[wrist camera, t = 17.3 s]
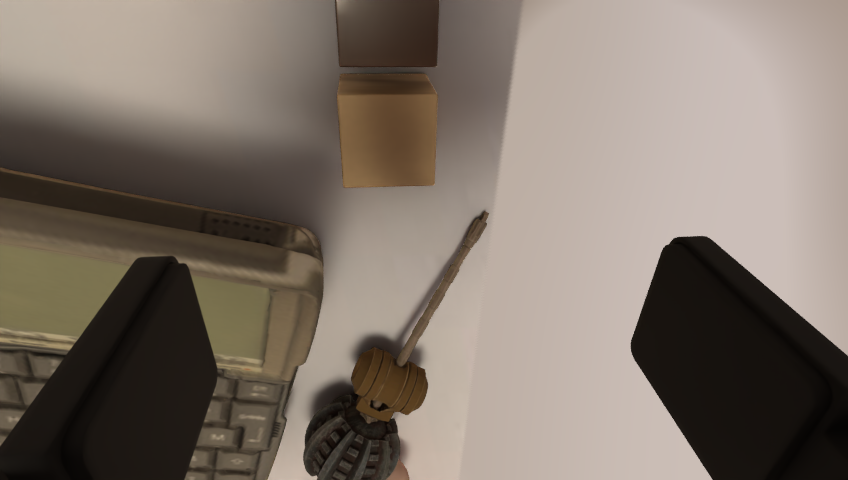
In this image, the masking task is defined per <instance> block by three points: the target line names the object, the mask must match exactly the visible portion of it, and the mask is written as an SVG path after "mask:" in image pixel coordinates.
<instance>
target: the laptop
mask: <svg viewBox="0 0 848 480" xmlns="http://www.w3.org/2000/svg"><path fill="white" fill-rule="evenodd" d="M152 256H174V257H175V258H176V259H177V260H178V263H185V264H187V266H188V268H189V270H190V274H191V277H192V281H193V284H194V288H195V291H196V295H197V298H198V302H199V305H200V309H201V312H202V315H203V319H204V322H205V326H206V329H207V333H208V336H209V340H210V343H211V347H212V350H213V354H214V357H215V361H216V364H217V371H218V377H217V384H216V387H215V390H214V393H213V396H212V399H211V402H210V405H209V408H208V411H207V414H206V417H205V420H204V423H203V426H202V429H201V432H200V435H199V438H198V441H197V444H196V447H195V450H194V453H193V456H192V459H191V462H190V465H189V468H188V471H187V474H186V477H185V480H267V479H268V476H269V474H270V471H271V468H272V465H273V463H274V460H275V457H276V454H277V451H278V448H279V445H280V442H281V438H282V435H283V432H284V428H285V425H286V421H287V419H286V418H285V417H284V416H283V412H284V409H285V406H286V403H287V400H288V397H289V394H290V391H291V388H292V385H293V382H294V379H295V375H296V372H297V369H298V366H299V365H302V364H304V363H305V362H306V360H307V357H308V354H309V351H310V348H311V345H312V342H313V339H314V335H315V331H316V327H317V323H318V318H319V314H320V309H321V303H322V298H323V257H322V251H321V245H320V242H319V241H318V239H317V238H316V236H315V235H314V233H312V232H311V231H309V230H308V229H306V228H303V227H299V226H296V225H292V224H287V223H282V222H277V221H271V220H266V219H261V218H255V217H250V216H245V215H240V214H235V213H230V212H225V211H220V210H214V209H209V208H204V207H199V206H193V205H188V204H183V203H177V202H172V201H167V200H162V199H156V198H151V197H146V196H140V195H135V194H130V193H125V192H120V191H115V190H109V189H104V188H99V187H94V186H89V185H84V184H79V183H74V182H69V181H64V180H59V179H54V178H49V177H44V176H39V175H34V174H29V173H24V172H19V171H13V170H8V169H5V168H1V167H0V446H1V445H2V443H3V442H4V440H5V439H6V438H7V436H8V435H9V433H10V432H11V431H12V429H13V428H14V427H15V425H16V424H17V422H18V421H19V420H20V418H21V417H22V415H23V414H24V413H25V411H26V410H27V409H28V407H29V406H30V404H31V403H32V402H33V400H34V399H35V398H36V396H37V395H38V393H39V392H40V391H41V389H42V388H43V386H44V385H45V384H46V382H47V381H48V380H49V378H50V377H51V375H52V374H53V373H54V371H55V370H56V368H57V367H58V366H59V364H60V363H61V362H62V360H63V359H64V357H65V356H66V355H67V353H68V352H69V351H70V349H71V348H72V346H73V345H74V344H75V342H76V341H77V340H78V339H79V337H80V336H81V334H82V333H83V332H84V330H85V329H86V327H87V326H88V325H89V323H90V322H91V321H92V319H93V318H94V316H95V315H96V314H97V312H98V311H99V310H100V308H101V307H102V305H103V304H104V303H105V301H106V300H107V298H108V297H109V296H110V294H111V293H112V292H113V290H114V289H115V287H116V286H117V285H118V283H119V282H120V280H121V279H122V278H123V276H124V275H125V274H126V272H127V271H128V269H129V268H130V267H131V265H132V264H133V262H134V261H135V260H136V259H137V258H139V257H152Z"/></svg>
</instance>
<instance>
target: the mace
mask: <svg viewBox="0 0 848 480" xmlns="http://www.w3.org/2000/svg"><path fill="white" fill-rule="evenodd" d="M488 215H489V213H487V212H484V213H483V214H482V216H481V217H480V219H478V218H477V219H476V220H475V222H474V223H473V225H472V227H471V229H470V230H469V232H468V234H467V236H466V240H465V242H464V245H463V246H462V248H461V250H460V252H459V254H458V256H457V258H456V259H455V261H454V263H453V264H452V265H451V266H450V267H449V269H448V271H447V273H446V274H445V276H444V279H443V281H442V282H441V284H440V286H439V288H438V289H437V290H436V292H435V293H434V295H433V297H432V299H431V300H430V302H429V304H428V307H427V308H426V310H425V312H424V314H423V315H422V317H421V318H420V319H419V321H418V323H417V325H416V326H415V328H414V330H413V332H412V334H411V336H410V338H409V340H408V341H407V343H406V345H405V347H404V348H403V349H402V351H401V352H400V354H399V356H398V357H397V359H395V358H394V357H393V356H392V355H391V354H390V353H389V352H387V351H385V350H380V349H377V348H375V347H373V348H372V349H371V350H368V351H366V352H363V353H362V354H361V355H360V357H359V359H358V361H357V363H356V365H355V368H354V370H353V373H352V377H351V381H352V384H353V386H354V393H356V394H358V395H359V397H358V398H357V401H354V400H353V398H352V395H347V396H342V397H339V398H337V399H336V400H334V401H333V402H332V403H331V404H329V405H327V406H325V407H324V408H322V409H321V410H319V411H318V412H317V413H316V414H315V416H314V417H313V419H312V420H311V422H310V423H309V425H308V428H307V430H306V434H305V450H304V456H303V460H304V465H305V469H306V471H307V472H308V473H309V474H310V475H311V476H316V475H317V477H318V478H317V480H386V479H387V478H388V477H389V476H390V475H391V474H392V472H393V471H394V469H395V467H396V465H397V462H398V459H399V455H400V441H399V437H398V429H397V424H396V421H395V419H394V418H392V419H390V418H391V417H392V415H393V413H394V412H401V413H403V414H405V415H409V414H410V413H411V412H412V411H414V410H416V409H418V408H419V407H420V406H421V405H422V403H423V401H424V399H425V396H426V393H427V389H428V382H427V379H426V373H425V370H424V369H423V368H420V367H418V366H417V365H416V364H414V363H412V362H406V361H407V360H408V358H409V356H410V354H411V352H412V350H413V348H414V346H415V345H416V343H417V341H418V339H419V338H420V337H421V335H422V334H423V332H424V330H425V329H426V327H427V325H428V323H429V320H430V319H431V317H432V315H433V314H434V312H435V310H436V309H437V308H438V306H439V304H440V303H441V301H442V299H443V297H444V296H445V293H446V291H447V289H448V288H449V286H450V284H451V283H452V282H453V280H454V278H455V277H456V275H457V273H458V272H459V267H460V266H461V264H462V262H463V260H464V259H465V257H466V255H467V254H468V253H469V251H470V248H472V247H473V245H474V244H475V243H476V242H477V240H478V239H479V238H480V236H481V234H482V232H483V231H484V229H485V227H486V225H487V223H486V222H485V221H486V220H487V218H488Z"/></svg>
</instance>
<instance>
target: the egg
mask: <svg viewBox="0 0 848 480" xmlns="http://www.w3.org/2000/svg"><path fill="white" fill-rule="evenodd" d="M386 480H409V475H408V472H407V469H406V468H405V466H404V465H403V463H402V462H401V461H400V460H398V462H397V465H396V467H395V469H394V471H393V472H392V474H391V475H390V476H389V477H388V478H387V479H386Z"/></svg>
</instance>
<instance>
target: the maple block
mask: <svg viewBox="0 0 848 480" xmlns="http://www.w3.org/2000/svg"><path fill="white" fill-rule="evenodd" d="M437 103H438V95H437V93H436V91H435V89H434V88H433V86H432V84H431V82H430V81H429V79H428V77H427V75H426V74H341V75H340V80H339V86H338V93H337V104H338V119H339V133H340V148H341V162H342V177H343V187H344V188H355V187H391V186H428V185H434V184H435V158H436V131H437Z"/></svg>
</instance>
